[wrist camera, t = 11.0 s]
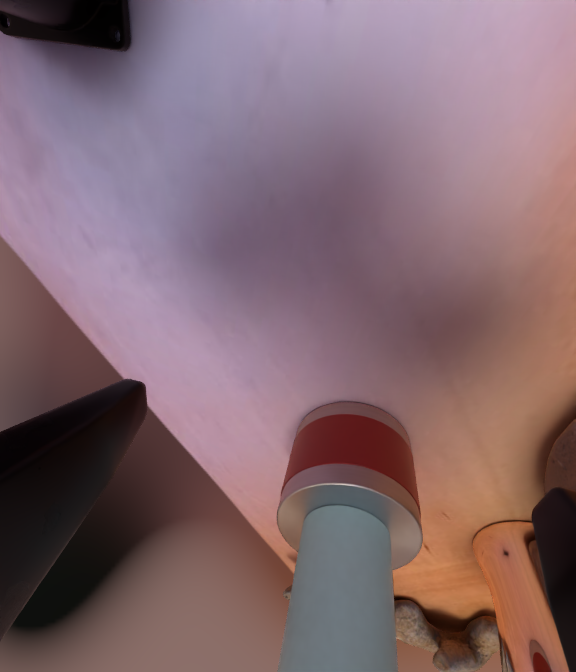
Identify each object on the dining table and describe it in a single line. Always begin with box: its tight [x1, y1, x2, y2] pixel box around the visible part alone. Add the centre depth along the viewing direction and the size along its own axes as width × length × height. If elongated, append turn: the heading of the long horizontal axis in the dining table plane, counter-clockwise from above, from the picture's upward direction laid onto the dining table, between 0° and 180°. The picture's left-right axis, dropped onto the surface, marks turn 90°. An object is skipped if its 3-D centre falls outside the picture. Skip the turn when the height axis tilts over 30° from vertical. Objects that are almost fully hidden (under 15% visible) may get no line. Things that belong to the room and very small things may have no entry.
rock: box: [283, 585, 500, 672], centre depth 32 cm, size 20×5×7 cm
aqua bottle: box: [278, 505, 398, 672], centre depth 15 cm, size 5×5×10 cm
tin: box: [277, 402, 423, 570], centre depth 22 cm, size 8×8×6 cm
